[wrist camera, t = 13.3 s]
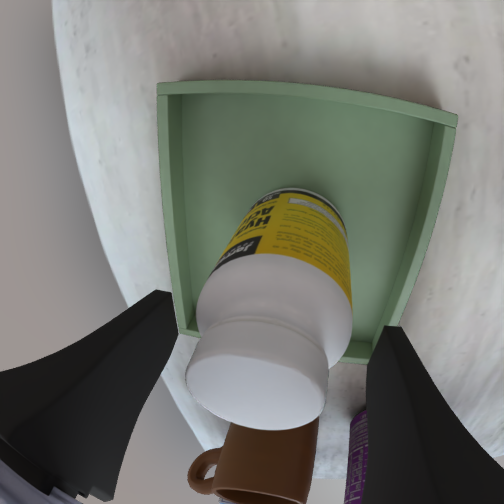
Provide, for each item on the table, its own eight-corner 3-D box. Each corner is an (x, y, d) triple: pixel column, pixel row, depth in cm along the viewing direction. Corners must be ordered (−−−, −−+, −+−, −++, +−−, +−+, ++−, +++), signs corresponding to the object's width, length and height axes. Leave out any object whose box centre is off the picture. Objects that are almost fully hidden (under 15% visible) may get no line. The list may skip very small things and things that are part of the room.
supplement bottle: (274, 163, 14) (199, 291, 6) (367, 222, 15) (398, 391, 6) (226, 246, 17) (145, 392, 9) (309, 293, 18) (284, 453, 9)
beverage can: (404, 432, 25) (404, 536, 15) (341, 429, 26) (328, 540, 16) (437, 396, 21) (448, 521, 11) (364, 392, 22) (357, 531, 12)
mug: (232, 433, 30) (209, 505, 22) (188, 397, 28) (153, 477, 20) (333, 420, 25) (322, 511, 17) (296, 377, 22) (275, 489, 15)
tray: (376, 344, 19) (378, 366, 18) (189, 315, 21) (179, 333, 20) (443, 110, 11) (458, 115, 10) (174, 81, 13) (156, 83, 12)
